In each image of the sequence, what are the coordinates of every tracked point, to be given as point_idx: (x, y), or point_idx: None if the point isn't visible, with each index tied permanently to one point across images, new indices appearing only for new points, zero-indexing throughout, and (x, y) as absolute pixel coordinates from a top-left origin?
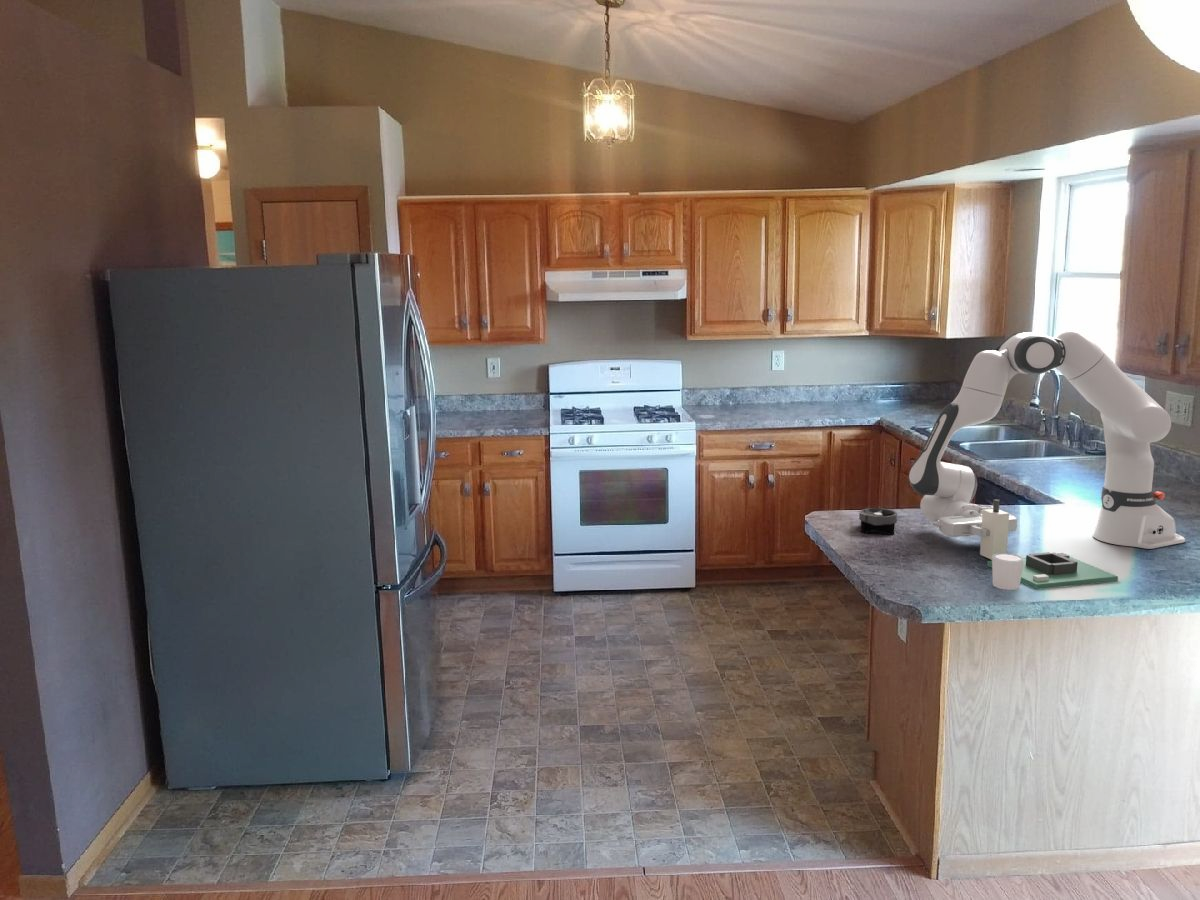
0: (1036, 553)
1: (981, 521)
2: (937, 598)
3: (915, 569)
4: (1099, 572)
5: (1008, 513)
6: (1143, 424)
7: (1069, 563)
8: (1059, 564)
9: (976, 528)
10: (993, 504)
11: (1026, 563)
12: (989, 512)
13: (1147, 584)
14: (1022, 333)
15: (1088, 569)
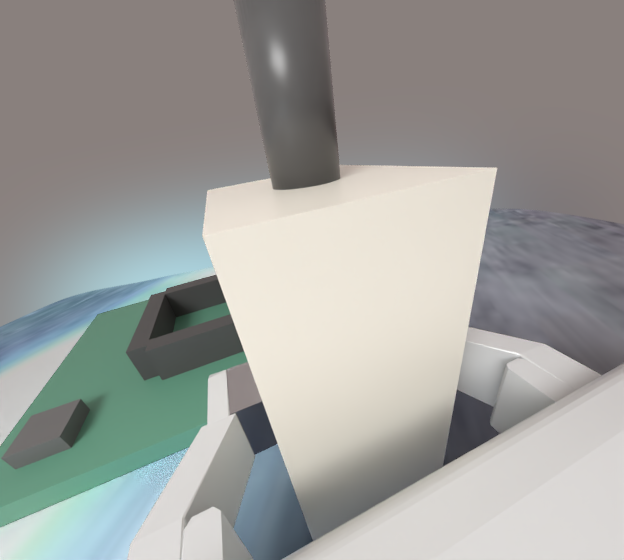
0: (204, 332)
1: (501, 453)
2: None
3: (613, 293)
4: (110, 325)
5: (214, 189)
6: None
7: (182, 285)
8: (213, 276)
9: (492, 338)
10: (329, 61)
11: None
12: (383, 167)
13: (68, 319)
14: None
15: (111, 338)
